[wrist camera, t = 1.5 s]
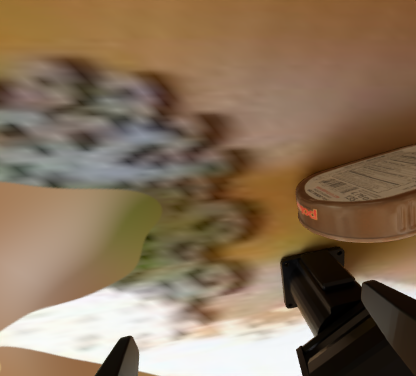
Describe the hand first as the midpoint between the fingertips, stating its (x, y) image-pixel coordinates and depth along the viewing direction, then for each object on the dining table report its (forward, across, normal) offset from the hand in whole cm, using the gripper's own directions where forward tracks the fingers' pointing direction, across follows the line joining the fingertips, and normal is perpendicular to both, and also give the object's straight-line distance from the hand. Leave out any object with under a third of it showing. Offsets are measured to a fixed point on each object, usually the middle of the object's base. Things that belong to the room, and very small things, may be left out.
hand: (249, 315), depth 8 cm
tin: (+12, -14, 0) cm, 18 cm away
